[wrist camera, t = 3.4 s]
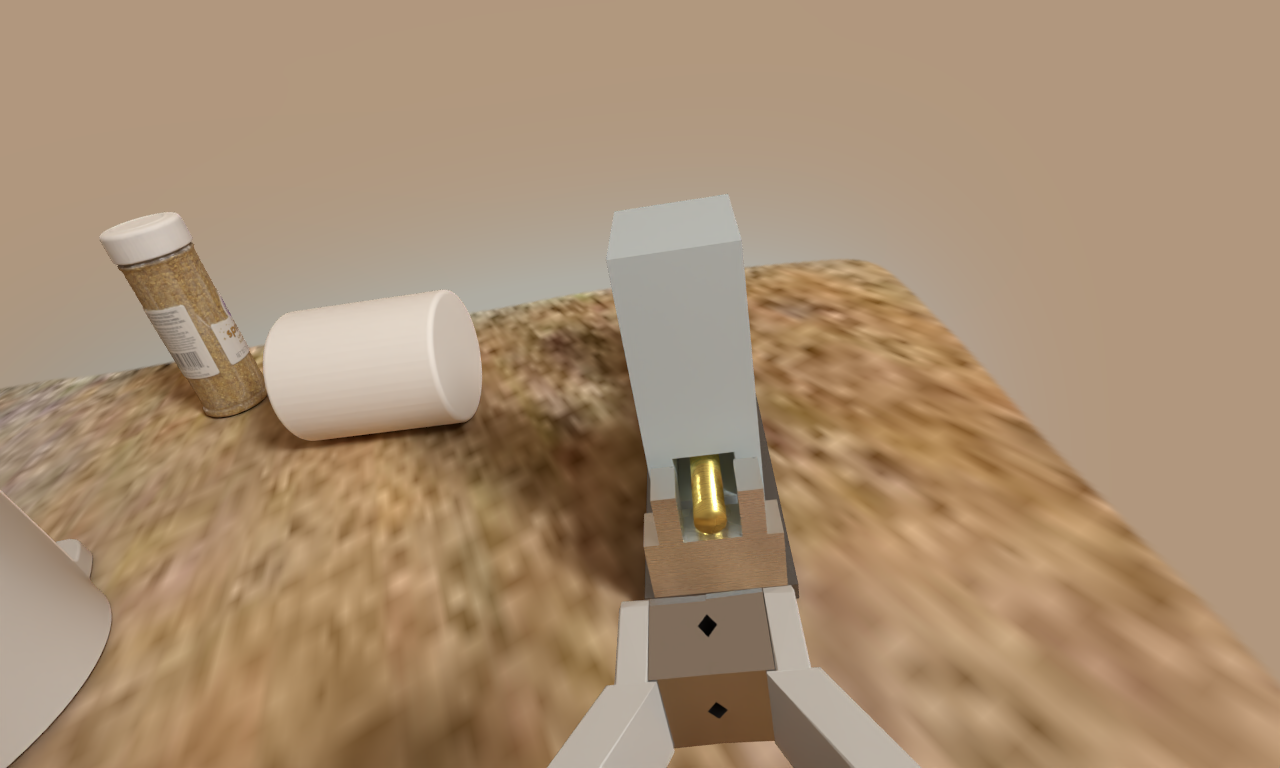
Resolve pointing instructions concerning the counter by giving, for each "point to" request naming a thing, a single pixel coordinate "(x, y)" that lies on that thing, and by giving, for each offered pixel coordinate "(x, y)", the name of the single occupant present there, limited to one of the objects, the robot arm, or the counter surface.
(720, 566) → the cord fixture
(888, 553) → the counter surface
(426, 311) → the mug
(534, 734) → the counter surface
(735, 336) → the box sleeve
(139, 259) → the sprinkles bottle
